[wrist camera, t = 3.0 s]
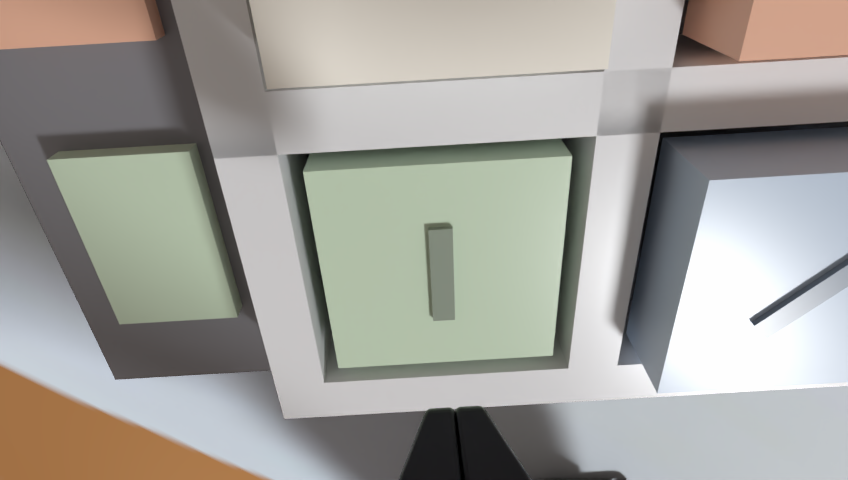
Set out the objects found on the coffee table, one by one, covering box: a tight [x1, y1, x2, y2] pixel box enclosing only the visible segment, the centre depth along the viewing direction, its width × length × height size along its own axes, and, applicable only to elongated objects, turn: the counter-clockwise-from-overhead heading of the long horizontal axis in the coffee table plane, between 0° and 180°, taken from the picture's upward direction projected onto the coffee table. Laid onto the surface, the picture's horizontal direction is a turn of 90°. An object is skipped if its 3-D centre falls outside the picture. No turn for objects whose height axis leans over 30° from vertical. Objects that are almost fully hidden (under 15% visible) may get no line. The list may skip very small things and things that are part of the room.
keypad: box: [0, 0, 848, 419], centre depth 12 cm, size 17×22×6 cm
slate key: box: [626, 127, 848, 394], centre depth 12 cm, size 5×5×2 cm
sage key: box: [303, 138, 572, 368], centre depth 13 cm, size 5×5×2 cm
